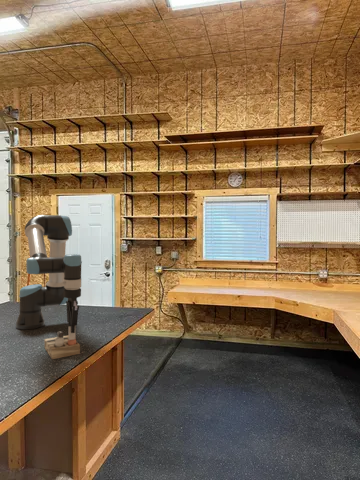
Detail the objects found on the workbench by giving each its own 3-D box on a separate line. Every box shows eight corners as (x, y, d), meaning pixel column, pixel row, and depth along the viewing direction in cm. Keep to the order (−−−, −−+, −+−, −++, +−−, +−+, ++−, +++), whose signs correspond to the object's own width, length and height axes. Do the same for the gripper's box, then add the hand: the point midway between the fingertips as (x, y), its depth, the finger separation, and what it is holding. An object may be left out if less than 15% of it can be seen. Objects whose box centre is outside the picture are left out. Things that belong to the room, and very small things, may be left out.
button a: (66, 346, 146) (66, 339, 146) (74, 344, 148) (74, 338, 148) (68, 348, 143) (68, 341, 143) (76, 347, 145) (77, 340, 145)
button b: (54, 345, 143) (54, 338, 143) (62, 344, 145) (62, 337, 145) (56, 348, 140) (56, 340, 140) (64, 346, 142) (64, 339, 142)
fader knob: (57, 337, 151) (57, 331, 151) (61, 337, 152) (61, 330, 152) (58, 339, 149) (58, 333, 149) (63, 338, 150) (63, 332, 150)
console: (44, 347, 150) (44, 338, 150) (70, 342, 157) (70, 334, 157) (51, 359, 137) (52, 349, 137) (79, 353, 144) (79, 344, 144)
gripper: (60, 286, 148) (59, 336, 149) (67, 291, 137) (67, 345, 138) (76, 285, 152) (76, 333, 153) (85, 289, 142) (84, 342, 142)
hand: (71, 339), depth 146 cm, fingers closed
